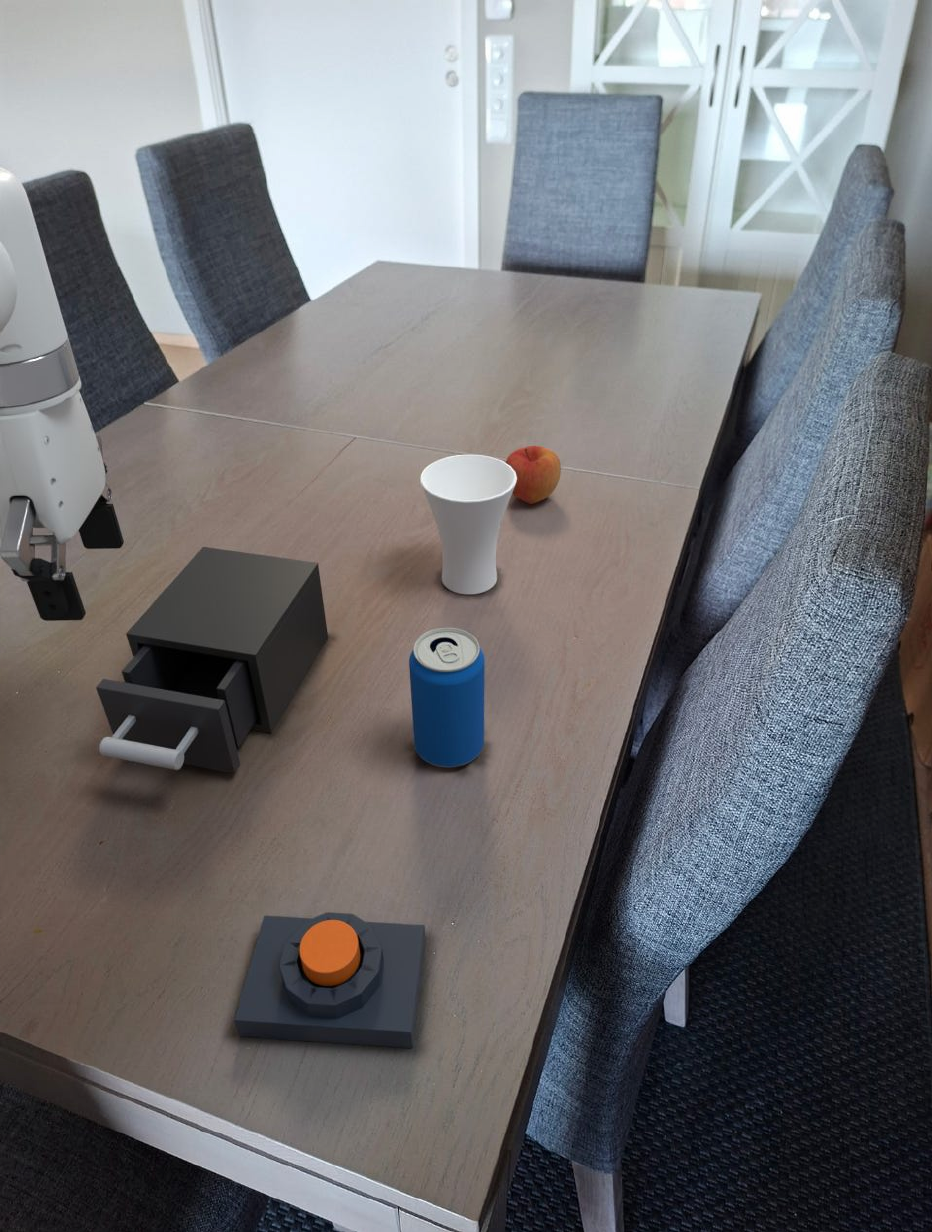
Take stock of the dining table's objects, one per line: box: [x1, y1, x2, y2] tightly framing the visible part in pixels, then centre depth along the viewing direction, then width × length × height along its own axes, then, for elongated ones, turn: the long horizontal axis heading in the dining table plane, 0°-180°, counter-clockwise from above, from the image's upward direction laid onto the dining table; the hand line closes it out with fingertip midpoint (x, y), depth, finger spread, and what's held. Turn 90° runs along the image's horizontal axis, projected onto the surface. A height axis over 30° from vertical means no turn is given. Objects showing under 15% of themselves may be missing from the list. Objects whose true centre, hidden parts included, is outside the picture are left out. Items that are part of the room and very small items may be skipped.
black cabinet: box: [125, 546, 329, 734], centre depth 87 cm, size 15×13×10 cm
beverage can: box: [408, 627, 486, 768], centre depth 78 cm, size 6×6×12 cm
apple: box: [505, 445, 562, 505], centre depth 115 cm, size 7×7×8 cm
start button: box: [299, 920, 360, 986], centre depth 60 cm, size 4×4×2 cm
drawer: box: [95, 644, 259, 774], centre depth 80 cm, size 18×12×8 cm, turn 166°
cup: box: [419, 453, 517, 595], centre depth 98 cm, size 10×10×14 cm
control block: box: [233, 911, 427, 1049], centre depth 62 cm, size 12×8×4 cm, turn 86°
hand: (85, 580), depth 69 cm, fingers open, 9 cm apart
